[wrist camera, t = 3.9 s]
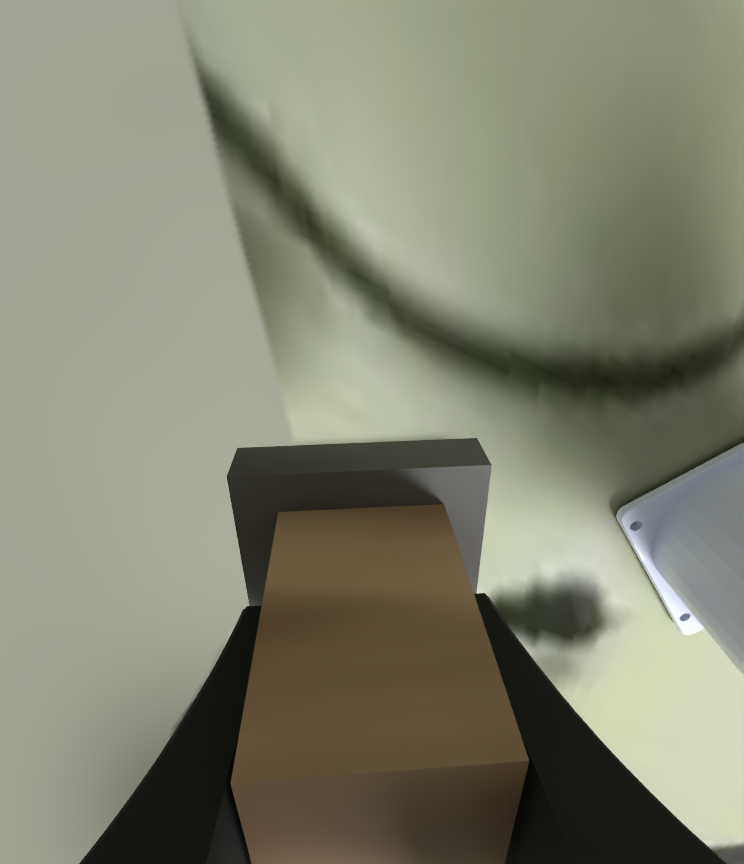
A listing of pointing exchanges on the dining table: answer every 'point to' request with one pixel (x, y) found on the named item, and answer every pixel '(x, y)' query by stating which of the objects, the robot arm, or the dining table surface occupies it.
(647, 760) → the dining table surface
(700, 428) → the dining table surface
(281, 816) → the stamp
